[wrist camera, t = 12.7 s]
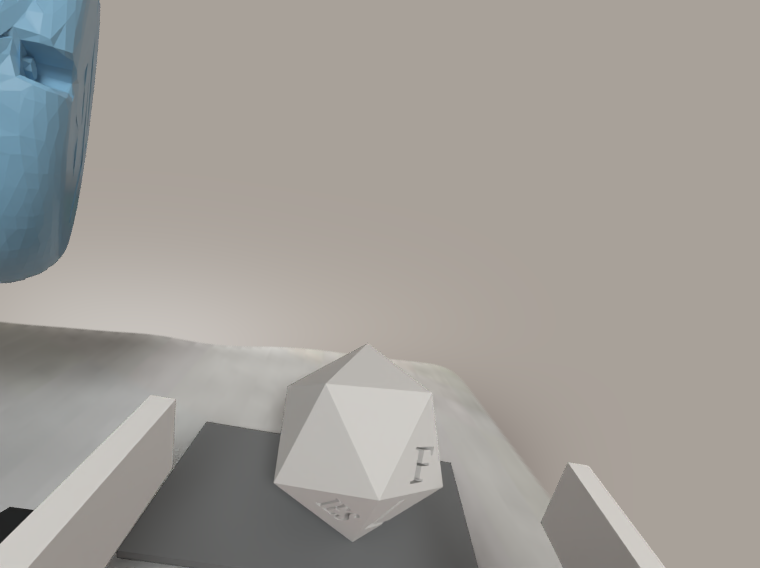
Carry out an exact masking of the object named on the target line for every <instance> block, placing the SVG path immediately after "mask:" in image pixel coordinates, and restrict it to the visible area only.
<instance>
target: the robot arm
mask: <svg viewBox="0 0 760 568" xmlns="http://www.w3.org/2000/svg"><path fill="white" fill-rule="evenodd" d="M99 25H100V3H99V0H0V283H11V282H16V281H21V280H25V278H28V277H31V276H34V275H37V274H40V273H42V272H43V271H45V270H47V268H48V267H50V266H52V265H53V264H54V263H56V262H57V261H58V259H59V258H60V257H61V256H62V255H63V253H64V252H65V250H66V248H67V245H68V242H69V239H70V235H71V232H72V227H73V224H74V219H75V215H76V210H77V205H78V199H79V194H80V188H81V182H82V175H83V169H84V162H85V156H86V148H87V141H88V134H89V126H90V117H91V109H92V100H93V92H94V83H95V73H96V62H97V52H98V39H99ZM175 408H176V399H173V398H166V397H160V396H154V395H150V396H149V397H148V398H147V399H146V400H145V401H144V402H143V403H142V404H141V405H140V406H139V407H138V408H137V409H136V410H135V411H134V412H133V413H132V414H131V415H130V416H129V417H128V418H127V419H126V420H125V421H124V422H123V423H122V424H121V425H120V426H119V427H118V428H117V429H116V430H115V431H114V432H113V433H112V434H111V435H110V436H109V437H108V438H107V439H106V440H105V441H104V442H103V443H102V444H101V445H100V446H99V447H98V448H97V449H96V450H95V451H94V452H92V453H91V454H90V455H89V456H88V457H87V458H86V459H85V460H84V461H83V462H82V463H81V464H80V465H79V466H78V467H77V468H76V469H75V470H74V471H73V472H72V473H71V474H70V475H69V476H68V477H67V478H66V479H65V480H64V481H63V482H62V483H61V484H60V485H59V486H58V487H57V488H56V489H55V490H54V491H53V492H52V493H51V494H50V495H49V496H48V497H47V498H46V499H45V500H44V501H43V502H42V503H41V504H40V505H39V506H38V507H37V508H36V509H35V510H29V509H21V508H14V507H9V508H7V509H6V510H4V511H2V512H1V513H0V568H105V566H106V565H107V564H108V562H109V561H110V559H111V558H112V556H113V555H114V553H115V552H116V550H117V549H118V547H119V546H120V544H121V543H122V542H123V540H124V539H125V537H126V536H127V534H128V533H129V531H130V530H131V528H132V527H133V525H134V524H135V522H136V521H137V520H138V518H139V517H140V515H141V514H142V512H143V511H144V509H145V508H146V506H147V505H148V503H149V502H150V500H151V499H152V498H153V496H154V495H155V493H156V492H157V490H158V489H159V487H160V486H161V484H162V483H163V481H164V480H165V478H166V477H167V476H168V474H169V473H170V471H171V470H172V462H173V444H174V426H175ZM541 524H542V526H543V528H544V530H545V532H546V534H547V536H548V538H549V540H550V542H551V544H552V546H553V548H554V550H555V552H556V554H557V556H558V558H559V560H560V562H561V564H562V566H563V568H665V566H663V564H662V563H661V561H660V560H659V559H658V557H657V556H656V555H655V553H654V552H653V551H652V549H651V548H650V547H649V545H648V544H647V543H646V541H645V540H644V539H643V537H642V536H641V535H640V533H639V532H638V531H637V529H636V528H635V527H634V525H633V524H632V523H631V521H630V520H629V519H628V517H627V516H626V515H625V513H624V512H623V511H622V510H621V508H620V507H619V506H618V504H617V503H616V501H615V500H614V499H613V498H612V496H611V495H610V494H609V492H608V491H607V490H606V488H605V487H604V486H603V484H602V483H601V482H600V480H599V479H598V478H597V476H596V475H595V474H594V472H593V471H592V470H591V468H590V467H589V466H587V465H581V464H575V463H569V462H568V463H567V466H566V468H565V470H564V472H563V474H562V477H561V479H560V481H559V483H558V485H557V487H556V490H555V492H554V494H553V496H552V499H551V501H550V503H549V505H548V507H547V510H546V512H545V514H544V516H543V518H542V521H541Z"/></svg>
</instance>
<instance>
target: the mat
mask: <svg viewBox="0 0 760 568" xmlns="http://www.w3.org/2000/svg"><path fill="white" fill-rule="evenodd" d="M280 436H281V434H276V433H270V432H264V431H259V430H253V429H247V428H241V427H235V426H229V425H223V424H217V423H211V422H206V423H205V425H204V426H203V428H202V429H201V431H200V432H199V433H198V435H197V436H196V438H195V439H194V441H193V442H192V444H191V445H190V446H189V448H188V449H187V451H186V452H185V454H184V455H183V456H182V458H181V459H180V461H179V462H178V464H177V465H176V467H175V468H174V469H173V471H172V472H171V474H170V475H169V477H168V478H167V479H166V481H165V482H164V484H163V485H162V487H161V488H160V490H159V491H158V492H157V494H156V495H155V497H154V498H153V500H152V501H151V502H150V504H149V505H148V507H147V508H146V510H145V511H144V513H143V514H142V515H141V517H140V518H139V520H138V521H137V523H136V524H135V525H134V527H133V528H132V530H131V531H130V533H129V534H128V536H127V537H126V538H125V540H124V541H123V543H122V544H121V546H120V547H119V549H118V550H117V557H118V558H125V559H133V560H140V561H147V562H154V563H161V564H169V565H176V566H183V567H190V568H478V565H477V562H476V558H475V554H474V550H473V546H472V543H471V539H470V535H469V531H468V527H467V523H466V520H465V516H464V512H463V508H462V504H461V500H460V497H459V493H458V489H457V485H456V481H455V477H454V474H453V470H452V466H451V463H449V462H443V461H440V465H441V474H442V483H443V487H442V488H441V489H439V490H437V491H436V492H434V493H432V494H431V495H429V496H427V497H426V498H424V499H423V500H421V501H419V502H418V503H416V504H414V505H413V506H411V507H409V508H408V509H406V510H404V511H403V512H401V513H400V514H398V515H396V516H395V517H393V518H391V519H390V520H388V521H384V522H383V524H382V525H380V526H378V527H377V528H375V529H373V530H372V531H370V532H368V533H367V534H365V535H363V536H362V537H360V538H359V539H357V540H355V541H354V542H351V541H350V540H349V539H347V538H346V537H345V536H343V535H342V534H341V533H339V532H338V531H337V530H335V529H334V528H333V527H331V526H330V525H329V524H327V523H326V522H325V521H323V520H322V519H321V518H319V517H318V516H317V515H315V514H314V513H313V512H311V511H310V510H309V509H307V508H306V507H305V506H303V505H302V504H301V503H299V502H298V501H297V500H295V499H294V498H293V497H291V496H290V495H289V494H287V493H286V492H285V491H283V490H282V489H281V488H279V487H278V486H277V485H275V484H274V477H275V470H276V463H277V456H278V449H279V442H280Z"/></svg>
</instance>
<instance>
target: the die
mask: <svg viewBox="0 0 760 568" xmlns="http://www.w3.org/2000/svg"><path fill="white" fill-rule="evenodd" d="M274 484H275V485H277V486H278V487H279V488H281V489H282V490H283V491H285V492H286V493H287V494H289V495H290V496H291V497H293V498H294V499H295V500H297V501H298V502H299V503H301V504H302V505H303V506H305V507H306V508H307V509H309V510H310V511H311V512H313V513H314V514H315V515H317V516H318V517H319V518H321V519H322V520H323V521H325V522H326V523H327V524H329V525H330V526H331V527H333V528H334V529H335V530H337V531H338V532H339V533H341V534H342V535H343V536H345V537H346V538H347V539H349V540H350V541H351V542H354V541H355V540H357V539H359V538H360V537H362V536H363V535H365V534H367V533H368V532H370V531H372V530H373V529H375V528H377V527H378V526H380V525H382V524H383V522H384V521H388V520H390V519H391V518H393V517H395V516H396V515H398V514H400V513H401V512H403V511H404V510H406V509H408V508H409V507H411V506H413V505H414V504H416V503H418V502H419V501H421V500H423V499H424V498H426V497H427V496H429V495H431V494H432V493H434V492H436V491H437V490H439V489H441V488H442V487H443V483H442V474H441V465H440V457H439V448H438V440H437V431H436V422H435V414H434V405H433V397H432V392H430V391H429V390H428V389H426V388H425V387H424V386H423V385H421V384H420V383H419V382H417V381H416V380H415V379H414V378H412V377H411V376H410V375H408V374H407V373H406V372H405V371H403V370H402V369H401V368H399V367H398V366H397V365H395V364H394V363H393V362H392V361H390V360H389V359H388V358H386V357H385V356H384V355H383V354H381V353H380V352H379V351H377V350H376V349H375V348H373V347H372V346H371V345H370V344H368V343H367V344H366V345H364V346H362V347H360V348H358V349H356V350H354V351H353V352H351V353H349V354H347V355H345V356H343V357H341V358H339V359H338V360H336V361H334V362H332V363H330V364H328V365H326V366H325V367H323V368H321V369H319V370H317V371H315V372H313V373H311V374H310V375H308V376H306V377H304V378H302V379H300V380H298V381H297V382H295V383H293V384H291V385H289V386H288V387H287V394H286V401H285V408H284V415H283V422H282V429H281V436H280V442H279V449H278V456H277V463H276V470H275V477H274Z"/></svg>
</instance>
